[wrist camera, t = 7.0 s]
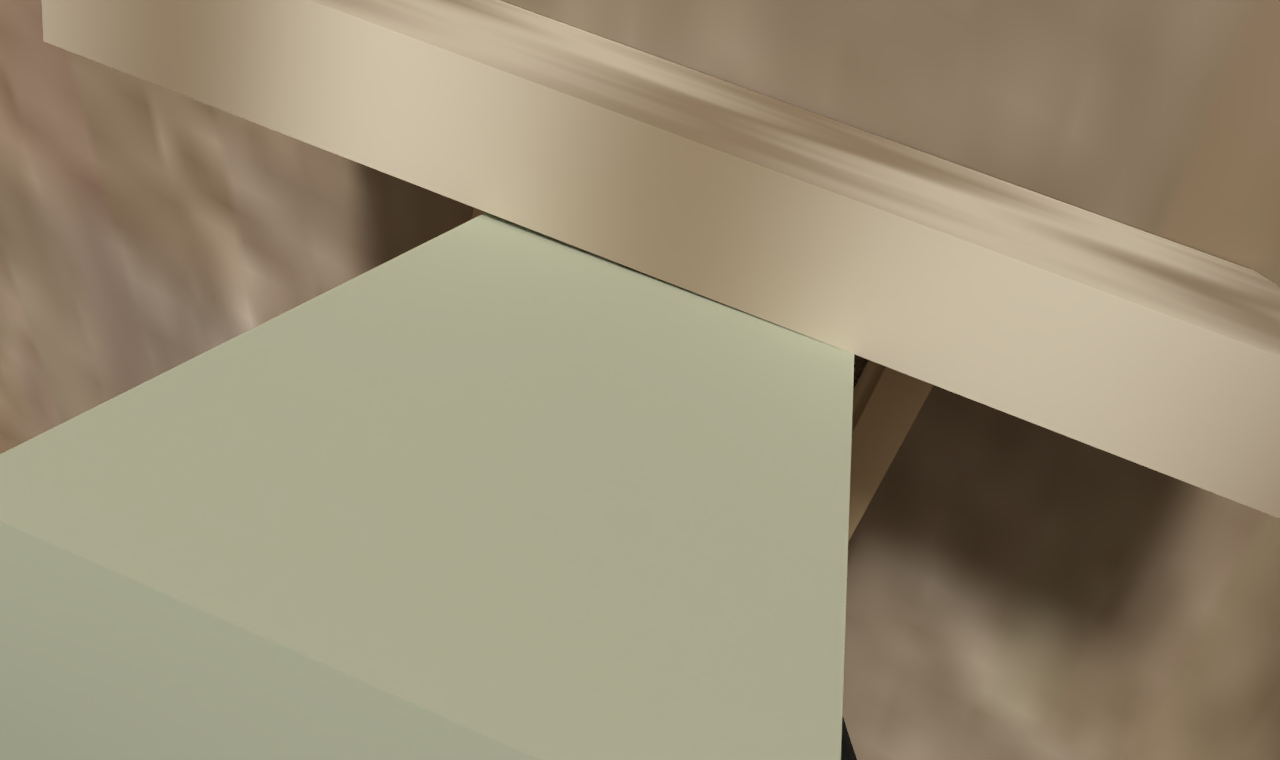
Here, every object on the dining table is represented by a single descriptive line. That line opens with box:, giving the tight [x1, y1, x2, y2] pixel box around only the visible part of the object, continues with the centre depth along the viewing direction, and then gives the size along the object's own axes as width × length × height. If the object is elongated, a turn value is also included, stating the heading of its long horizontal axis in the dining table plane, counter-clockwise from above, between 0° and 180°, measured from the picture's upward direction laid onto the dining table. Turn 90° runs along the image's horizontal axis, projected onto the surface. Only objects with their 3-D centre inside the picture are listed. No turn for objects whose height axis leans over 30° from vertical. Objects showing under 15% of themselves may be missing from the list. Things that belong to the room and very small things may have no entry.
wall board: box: [42, 0, 1280, 542], centre depth 13 cm, size 16×12×6 cm
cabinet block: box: [0, 212, 854, 760], centre depth 9 cm, size 4×8×7 cm, turn 163°
